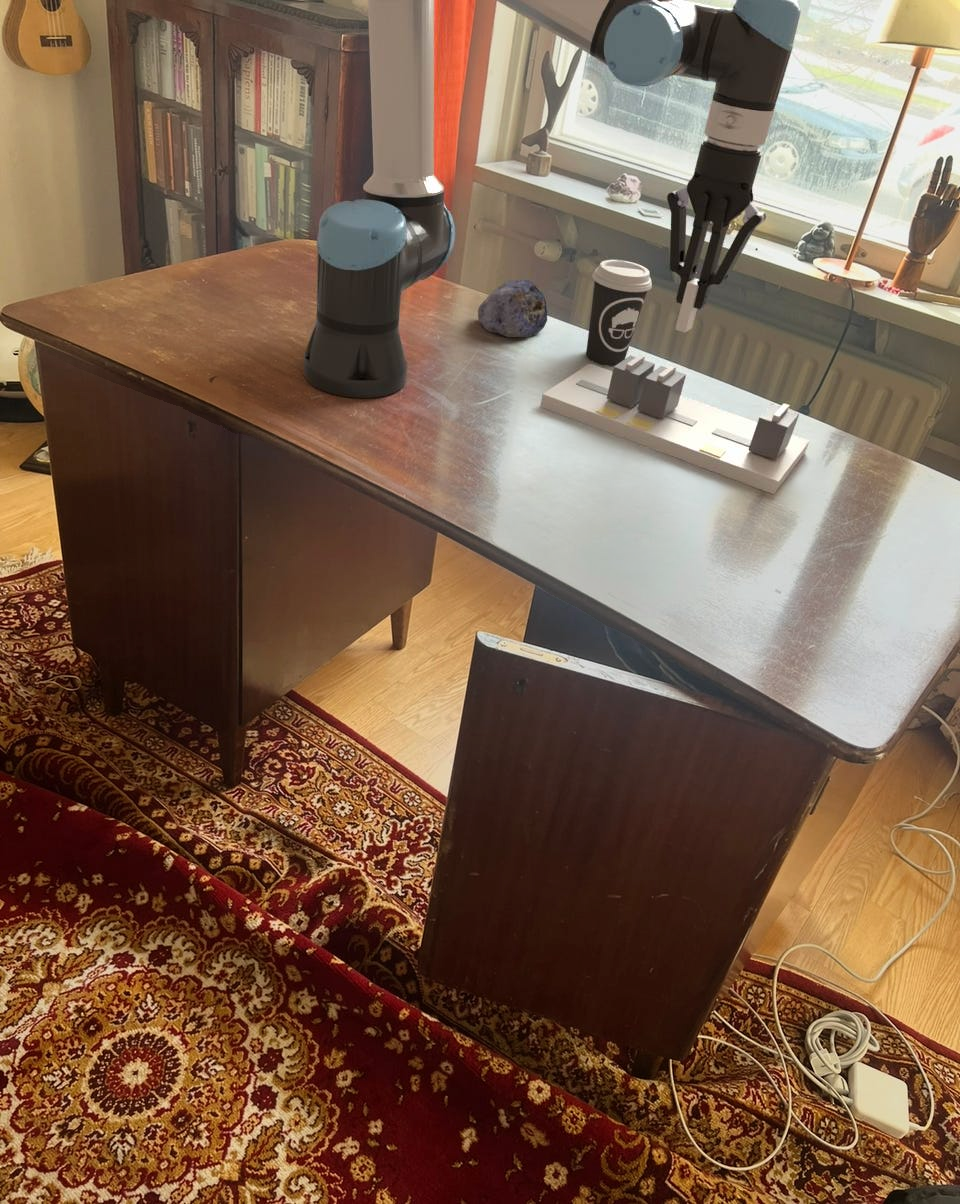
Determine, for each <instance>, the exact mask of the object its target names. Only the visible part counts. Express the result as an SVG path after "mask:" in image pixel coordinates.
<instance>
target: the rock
mask: <svg viewBox="0 0 960 1204" xmlns="http://www.w3.org/2000/svg"><path fill="white" fill-rule="evenodd" d="M546 302H547V301H546V298H545V295H544V293H543V292H542V291H540V289H538V288H537V286H536V285H535V283H533V282H532V281H530V280H523V279H522V280H507V281H504V282H503V283H502V285H500V286H498V287H497V288H496V289H494V290H493V291H492V292H491V293H490V294H489V295H488V296H487V297H486V298H485V300H484V301H482V303H481V304H480V305H479V307H478V309H477V319H478V322H480V324H482V326H483V327H484V329H485V330H486V331H488V332H491V333H495V334H496V333H498V334H500V335H501V336H504V337H508V338H518V337H519V338H520V337H522V338H529V337H531V336H535V335H537V334H539V333H540V332H541V331H542V330H543V329H544V328H545V327H546V326H545V325H547V322H548V309H547V303H546Z"/></svg>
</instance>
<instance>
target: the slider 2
mask: <svg viewBox="0 0 960 1204" xmlns="http://www.w3.org/2000/svg"><path fill="white" fill-rule="evenodd" d="M676 369H677V366H675V365H671V364H670V365H669V366H668V367H666V366H662V365H660V366H659V367H657V368H656V369H654V370H653V372H652V373H651V374H650V375H648V376H647V377H646V378H645V381H644V385H643V389H642V393H641V397H640V401H639V405H638V409H637V410H639V411H641V412H644V413H647V414H650V415H652V416H655V417H658V418H661V419H663V418H664V417H665V416H667V415H668V414H669V413H670V412H671V411H672V410H674V409H675V408H676V407H677V406H678V402H679V399H680V395H681V396H682V392H683V387H684V384H685V380H686V376H687V374H686V373H683V372H680V371H677V370H676Z"/></svg>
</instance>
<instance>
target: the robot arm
mask: <svg viewBox="0 0 960 1204" xmlns="http://www.w3.org/2000/svg"><path fill="white" fill-rule="evenodd" d="M495 1H496V2H498V3H500V4H501V5H503V6H505V7H507V8H509V10H512V11H514V12H515V13H518V14H519V15H521V16H523V17H524V18H526V19H528V20H529V21H531V22H533V23H534V24H536V25H539V26H540V27H541V28H543V29H546V30H547V31H549V32H551V33H552V34H553V35H554V34H555V35H556V36H557V37H559V38H561V39H563V40H564V41H566V42H568V43H570V44H572V45H573V46H575V47H577V48H578V49H580V50H582V51H583V52H585V53H588V54H589V55H591V57H593V58H595V59H596V60H598V61H599V62H601V63H603V64H604V65H607V67H608V69H609V71H610V72H611V73H612V74H613V76H614V77H615V78H616V79H617V80H619V81H620V82H622V83H623V84H626V85H629V86H634V87H641V88H642V87H648V86H651V85H654V84H657V83H660V82H662V81H664V80H665V79H666V78H670V77H671V76H677V77H683V78H689V79H696V80H701V81H704V82H712V83H715V85H714V92H713V95H712V99H711V104H710V106H709V107H710V108H709V111H708V115H707V120H706V124H705V127H704V132H703V133H704V134H705V136H706V137H707V138H705V139H704V140H703V141H702V142H701V144H700V148H699V152H698V156H697V159H696V163H695V168H694V172H693V175H692V177H691V179H689V181H688V182H687V184H686V187H684V188H682V189H676V190H674V191H671V192H669V193H668V194H667V196H666V199H667V200H666V201H667V203H668V206H669V209H670V237H669V239H670V247H669V248H670V249H669V250H670V251H669V270H670V271H671V272H672V273H676V274H677V275H678V276H679V278H680V282H679V287H678V290H677V294H676V298H675V299H676V303H678V304H680V309H679V313H678V317H677V321H676V325H675V330H676V331H678V332H681V333H686V332H688V331H690V330H691V329H692V328H693V327H694V326H693V325H694V321H695V318H696V314H697V310H701V309H702V308H704V307H705V306H706V304H707V300H708V297H709V294H710V290H711V286H712V285H718V286H719V285H721V284H722V283H724V282H725V281H727V280H728V278H729V276H730V274H731V272H732V271H733V269H734V267H735V265H736V264H737V262H738V260H739V258H740V256H741V254H742V253H743V251H744V249H745V247H746V245H747V243H748V241H749V240H750V239H751V236H752V234H753V232H754V231H755V229H757V228H758V227H759V226H760V225H761V224H762V223H763V222H764V221H765V220H766V218H767V215H766V213H765V212H764V211H759V209H758V208H757V206H755V204H754V203H753V200H754V194H753V187H754V183H755V179H756V175H757V172H758V169H759V165H760V163H761V158H762V156H763V154H762V151H761V149H760V147H762V146H764V145H765V144H766V141H767V138H768V133H769V130H770V126H771V122H772V119H773V116H774V111H775V109H776V108H775V107H776V105H777V101H778V99H779V95H780V91H781V88H782V85H783V81H784V78H785V75H786V71H787V68H788V64H789V61H790V58H791V54H792V51H793V49H794V45H793V44H794V42H795V37H796V35H797V29H798V24H799V20H800V17H801V7H800V4H799V2H798V1H797V0H736V2H735V3H734V4H733V6H732V8H731V7H716V6H711V5H706V4H701V3H696V2H692V1H685V0H495ZM367 8H368V9H367V11H368V13H367V16H368V40H369V41H368V43H369V66H370V67H369V72H370V73H369V74H370V99H371V102H370V104H371V130H372V131H371V132H372V137H371V138H372V164H373V167H372V168H373V171H372V175H371V176H370V177H369V178H368V180H367V181H366V182H365V183H364V184H363V187H362V188H363V198H362V199H355V200H354V201H350V200H343V201H340V202H337V203H335V204H333V205H331V206H329V207H328V208H327V209H325V210H324V211H323V213H322V215H321V217H320V218H319V225H318V233H317V236H316V248H317V255H316V256H317V260H316V261H317V262H316V263H317V267H316V270H317V271H316V273H317V274H316V320H315V325H314V327H313V330H312V332H311V335H310V339H309V340H308V344H307V346H306V350H305V352H304V355H303V360H302V361H303V362H302V364H303V365H302V367H303V368H302V369H303V370H302V374H303V378H304V379H305V380H306V382H308V384H310V385H311V386H312V387H315V388H317V389H318V390H320V391H323V392H325V393H328V394H333V395H336V396H342V397H347V398H357V399H370V398H379V397H386V396H389V395H392V394H395V393H397V392H399V391H400V390H402V388H404V387H405V386H406V383H407V377H408V364H407V361H406V358H405V353H404V348H403V344H402V339H401V336H400V329H399V328H400V327H399V325H400V323H399V322H400V311H401V300H402V299H401V298H402V292H404V291H406V290H407V289H409V288H411V287H412V286H414V285H415V284H417V283H418V282H420V281H423V280H424V281H425V280H426V279H427V278H429V277H431V276H433V275H434V274H435V273H436V272H437V271H438V270H439V269H440V268H441V267H442V266H443V265H444V264H445V263H446V262H447V260H448V259H449V257H450V256H451V253H452V251H453V249H454V244H455V238H456V228H455V221H454V219H453V216H452V214H451V212H450V210H448V208H447V207H446V204H445V186H444V185H443V184H442V183H441V182H440V180H439V179H438V178H437V177H436V175H435V173H434V172H435V171H434V169H435V167H434V166H435V165H434V164H435V161H434V160H435V159H434V156H435V155H434V153H435V150H434V148H435V146H434V145H435V144H434V138H435V137H434V136H435V134H434V133H435V132H434V131H435V125H434V124H435V121H434V117H435V116H434V115H435V112H434V109H435V108H434V107H435V104H434V103H435V99H434V96H435V94H434V93H435V90H434V88H435V87H434V86H435V84H434V83H435V80H434V79H435V74H434V73H435V67H434V66H435V62H434V60H435V56H434V55H435V52H434V51H435V49H434V48H435V29H434V28H435V0H367ZM689 201H690V204H691V207H692V209H693V213H694V218H693V223H692V231H691V236H690V239H689V243H688V246H687V251H686V237H687V236H686V235H687V233H686V232H687V205H688V204H689ZM743 212H744V215H743V217H742V223H743V224H742V226H741V228H740V229H739V230H738V231H737V234H736V236H735V238H734V239H733V241H732V243H731V245H730V247H729V249H728V250H727V252H726V254H725V256H724V257H723V260H722V262H721V263H720V265H719V267H718V264H719V261H720V258H721V253H722V249H723V246H724V242H725V239H726V235H727V231H728V230H729V227H730V224H731V222H732V221H734V220H735V219H736V218H737V217H739V215H741V214H742V213H743ZM711 223H712V226H711V229H710V230H711V231H710V232H711V234H710V239H709V241H708V246H707V249H706V253H705V257H704V260H703V265H702V267H701V271H700V277H699V278H696V277H695V276H696V275H697V274H698V271H697V270H698V267H699V262H700V259H701V255H702V251H703V247H704V243H705V241H706V236H707V232H708V228H709V226H710V224H711ZM717 268H718V269H717Z"/></svg>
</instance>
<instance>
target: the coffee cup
mask: <svg viewBox="0 0 960 1204" xmlns="http://www.w3.org/2000/svg"><path fill="white" fill-rule="evenodd" d="M650 275H651V274H650V270H649V269H648V268H646V267H645V266H643V265H640V264H639V263H635V262H632V261H628V260H622V259H606V260H603V261H601V262H600V264H599V265H598V267H597V268H596V269H594V272H593V273H592V275H591V276H592V279H593V281H594V284H593V291H592V292H593V293H592V300H591V301H592V302H591V309H590V318H589V326H588V335H587V342H586V352H585V357H586V358H587V359H588V360H589V361H591V362H593V363H595V364H597V365H601V366H607V367H614V366H616V365H617V364H619V363H620V362H622V361H623V360H624V359H626V358H627V354H628V351H629V348H630V345H631V342H632V338H633V336H634V332H635V329H636V326H637V323H638V320H639V317H640V314H641V311H642V308H643V305H644V304H645V303H644V302H645V299H646V296H647V294H648V291H650V290H651V289H652V287H653V285H652V284H653V283H652V278H651V277H650Z"/></svg>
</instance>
